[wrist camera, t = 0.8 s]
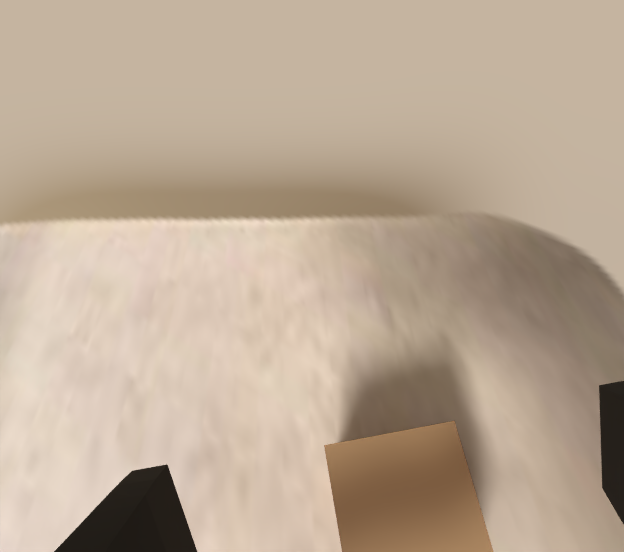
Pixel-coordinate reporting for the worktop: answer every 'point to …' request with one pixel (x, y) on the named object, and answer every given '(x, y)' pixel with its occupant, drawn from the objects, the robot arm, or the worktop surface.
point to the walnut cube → (406, 493)
